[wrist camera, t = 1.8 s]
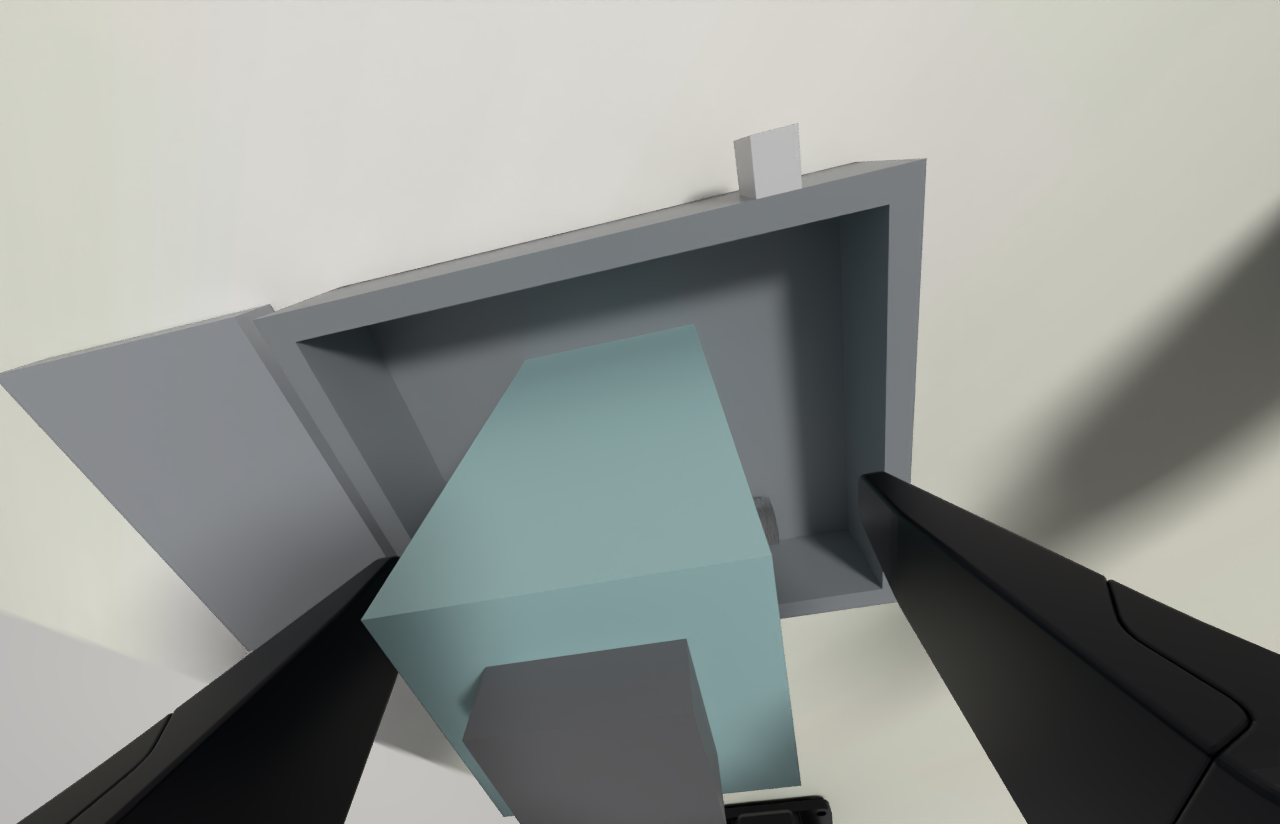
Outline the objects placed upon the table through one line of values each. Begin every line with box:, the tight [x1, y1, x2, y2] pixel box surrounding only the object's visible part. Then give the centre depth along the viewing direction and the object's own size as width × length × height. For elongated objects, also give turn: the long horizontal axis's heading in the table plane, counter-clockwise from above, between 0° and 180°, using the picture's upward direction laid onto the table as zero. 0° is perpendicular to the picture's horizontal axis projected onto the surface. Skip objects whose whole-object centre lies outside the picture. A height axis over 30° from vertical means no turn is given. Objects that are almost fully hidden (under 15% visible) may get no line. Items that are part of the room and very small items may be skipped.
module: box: [361, 324, 801, 824], centre depth 9 cm, size 4×4×9 cm
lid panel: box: [0, 304, 397, 651], centre depth 14 cm, size 11×7×1 cm, turn 13°
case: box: [252, 123, 926, 619], centre depth 12 cm, size 12×13×3 cm
